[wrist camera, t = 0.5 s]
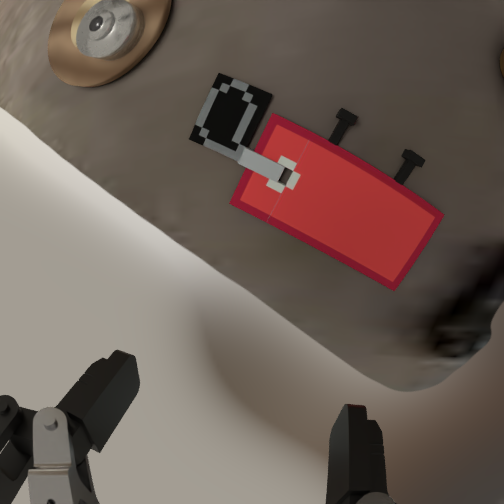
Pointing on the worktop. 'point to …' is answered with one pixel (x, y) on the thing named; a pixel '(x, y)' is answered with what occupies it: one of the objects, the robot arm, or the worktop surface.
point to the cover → (110, 30)
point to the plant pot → (502, 62)
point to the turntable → (93, 69)
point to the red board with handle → (318, 185)
